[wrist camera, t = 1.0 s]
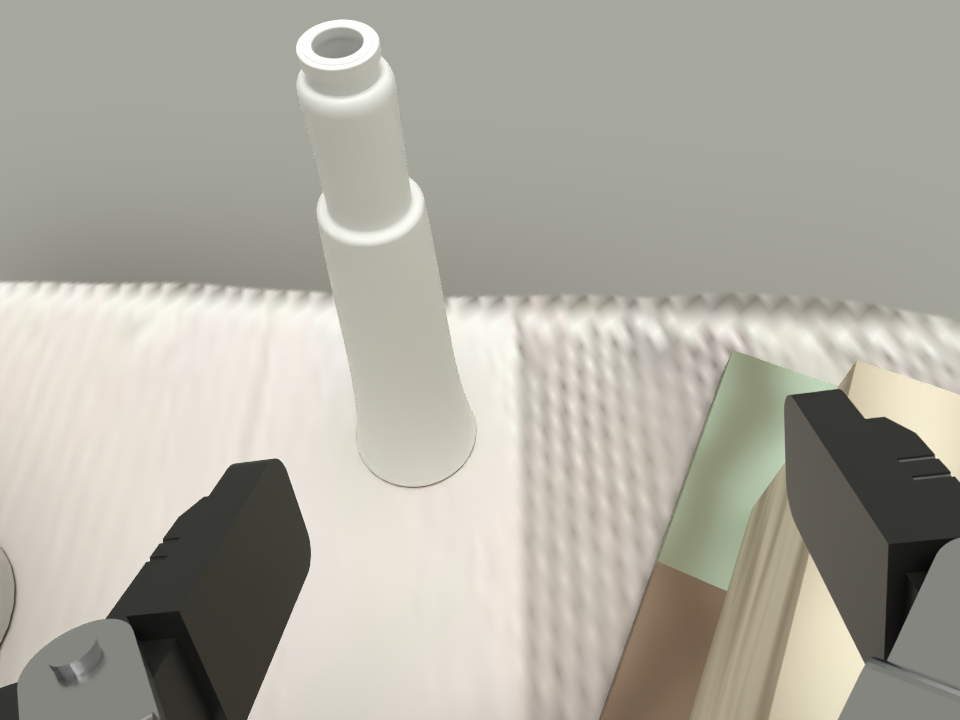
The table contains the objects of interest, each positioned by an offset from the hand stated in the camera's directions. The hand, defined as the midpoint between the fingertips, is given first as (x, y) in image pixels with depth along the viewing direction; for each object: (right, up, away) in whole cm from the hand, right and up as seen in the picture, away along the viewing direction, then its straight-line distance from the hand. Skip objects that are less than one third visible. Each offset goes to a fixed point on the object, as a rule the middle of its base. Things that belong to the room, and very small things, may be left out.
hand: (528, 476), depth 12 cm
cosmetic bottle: (-4, -2, +26) cm, 27 cm away
